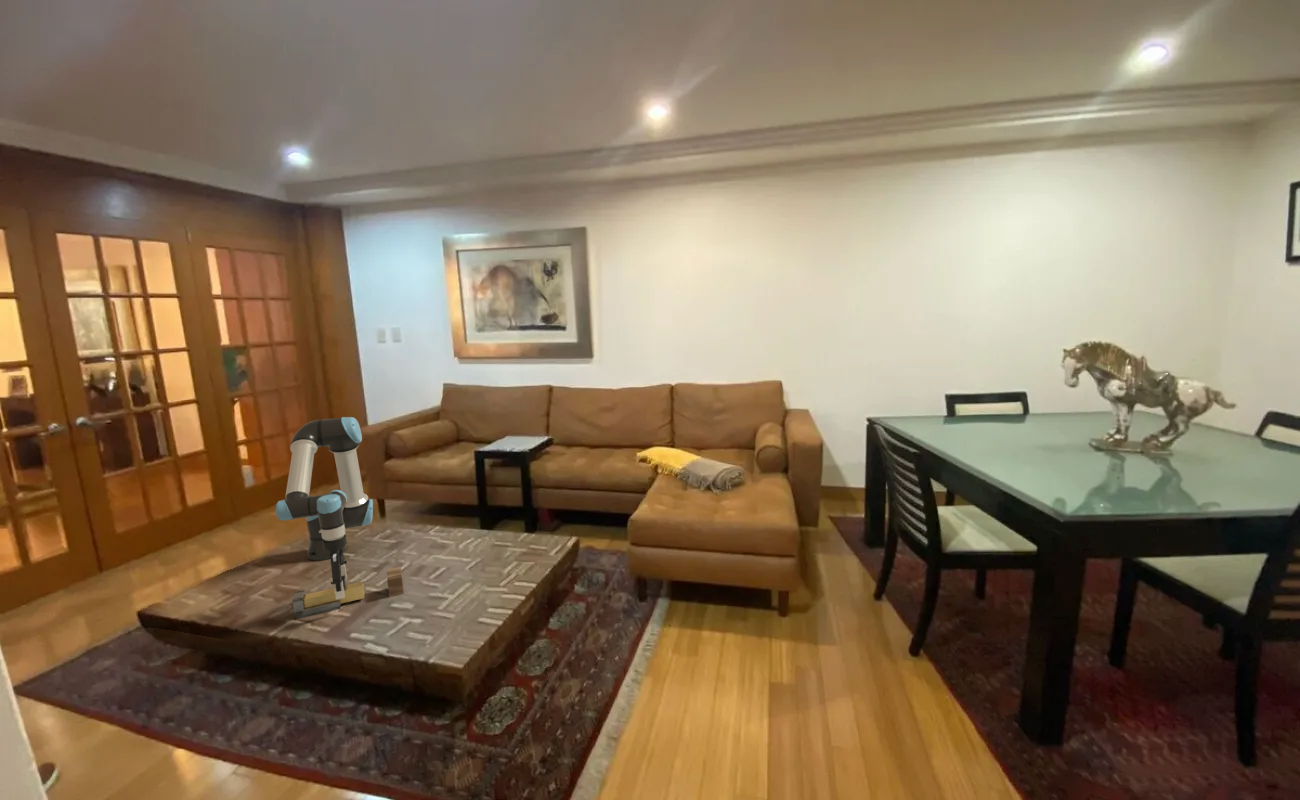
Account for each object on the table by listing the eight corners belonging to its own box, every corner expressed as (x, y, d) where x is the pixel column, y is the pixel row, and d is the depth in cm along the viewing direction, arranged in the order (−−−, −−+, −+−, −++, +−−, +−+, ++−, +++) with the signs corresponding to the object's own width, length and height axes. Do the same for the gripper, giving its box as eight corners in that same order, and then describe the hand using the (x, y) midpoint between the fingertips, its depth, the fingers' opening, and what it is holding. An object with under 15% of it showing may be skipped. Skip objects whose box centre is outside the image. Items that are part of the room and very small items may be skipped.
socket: (389, 588, 208) (386, 569, 206) (403, 584, 210) (400, 566, 208) (389, 596, 201) (386, 577, 200) (403, 593, 204) (401, 574, 202)
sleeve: (298, 610, 194) (295, 592, 193) (341, 600, 200) (338, 582, 199) (295, 619, 189) (292, 600, 187) (340, 608, 195) (337, 590, 193)
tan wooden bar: (297, 609, 193) (293, 586, 191) (364, 593, 202) (361, 571, 201) (295, 614, 189) (291, 591, 188) (364, 598, 199) (361, 576, 197)
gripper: (325, 526, 202) (333, 577, 206) (318, 552, 180) (326, 608, 184) (347, 522, 206) (354, 572, 209) (343, 547, 184) (351, 603, 187)
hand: (341, 589), depth 197 cm, fingers open, 13 cm apart
